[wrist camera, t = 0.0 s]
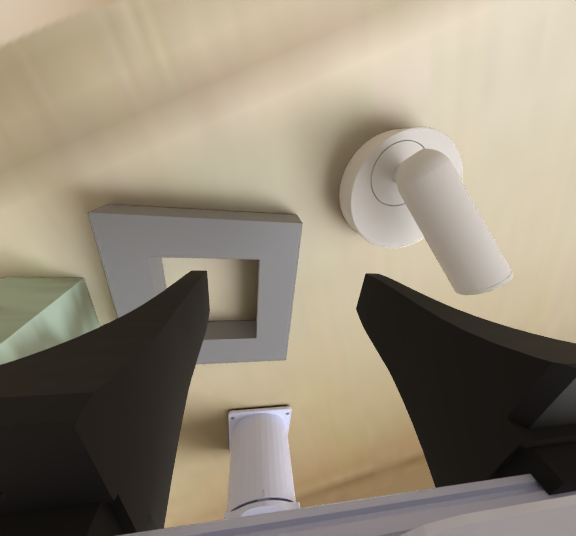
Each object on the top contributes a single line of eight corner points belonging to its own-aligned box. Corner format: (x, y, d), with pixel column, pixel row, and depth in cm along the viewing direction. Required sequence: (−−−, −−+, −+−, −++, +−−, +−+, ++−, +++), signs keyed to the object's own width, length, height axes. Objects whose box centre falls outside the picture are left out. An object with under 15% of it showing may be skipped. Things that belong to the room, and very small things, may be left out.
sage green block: (101, 329, 22) (31, 415, 15) (32, 330, 21) (-77, 423, 14) (84, 277, 20) (-11, 352, 13) (5, 276, 19) (-144, 356, 12)
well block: (282, 341, 26) (285, 360, 24) (143, 346, 24) (132, 367, 21) (296, 214, 20) (302, 223, 17) (108, 204, 17) (87, 212, 15)
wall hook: (435, 335, 14) (380, 193, 10) (367, 265, 23) (321, 171, 18) (577, 263, 13) (590, 63, 9) (451, 217, 22) (424, 103, 17)
